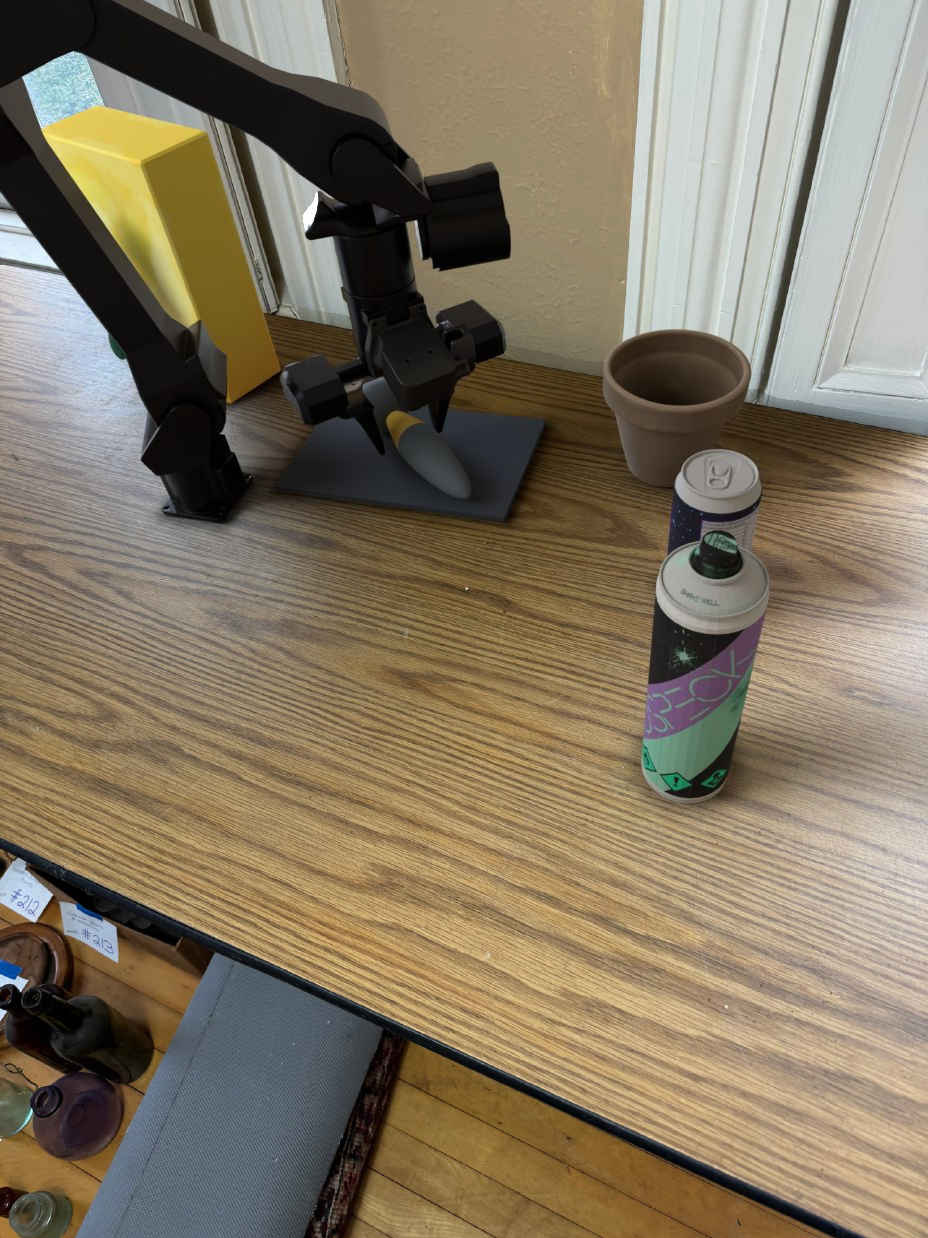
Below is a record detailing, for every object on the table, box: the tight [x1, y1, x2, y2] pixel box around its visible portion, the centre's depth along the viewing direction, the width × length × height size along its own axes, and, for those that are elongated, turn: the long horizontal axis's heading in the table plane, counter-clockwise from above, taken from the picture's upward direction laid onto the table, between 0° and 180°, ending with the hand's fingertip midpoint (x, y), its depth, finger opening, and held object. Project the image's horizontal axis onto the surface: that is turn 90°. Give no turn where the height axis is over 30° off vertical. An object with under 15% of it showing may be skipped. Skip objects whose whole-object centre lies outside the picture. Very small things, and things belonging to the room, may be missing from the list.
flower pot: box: [602, 328, 752, 488], centre depth 71 cm, size 12×11×10 cm
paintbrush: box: [362, 377, 472, 499], centre depth 78 cm, size 20×5×5 cm, turn 37°
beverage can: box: [666, 448, 763, 557], centre depth 60 cm, size 6×6×12 cm
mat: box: [274, 406, 548, 524], centre depth 80 cm, size 22×14×1 cm, turn 72°
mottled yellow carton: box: [40, 104, 281, 404], centre depth 85 cm, size 18×12×24 cm
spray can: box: [640, 530, 771, 805], centre depth 48 cm, size 6×6×20 cm
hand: (409, 441), depth 78 cm, fingers open, 5 cm apart
